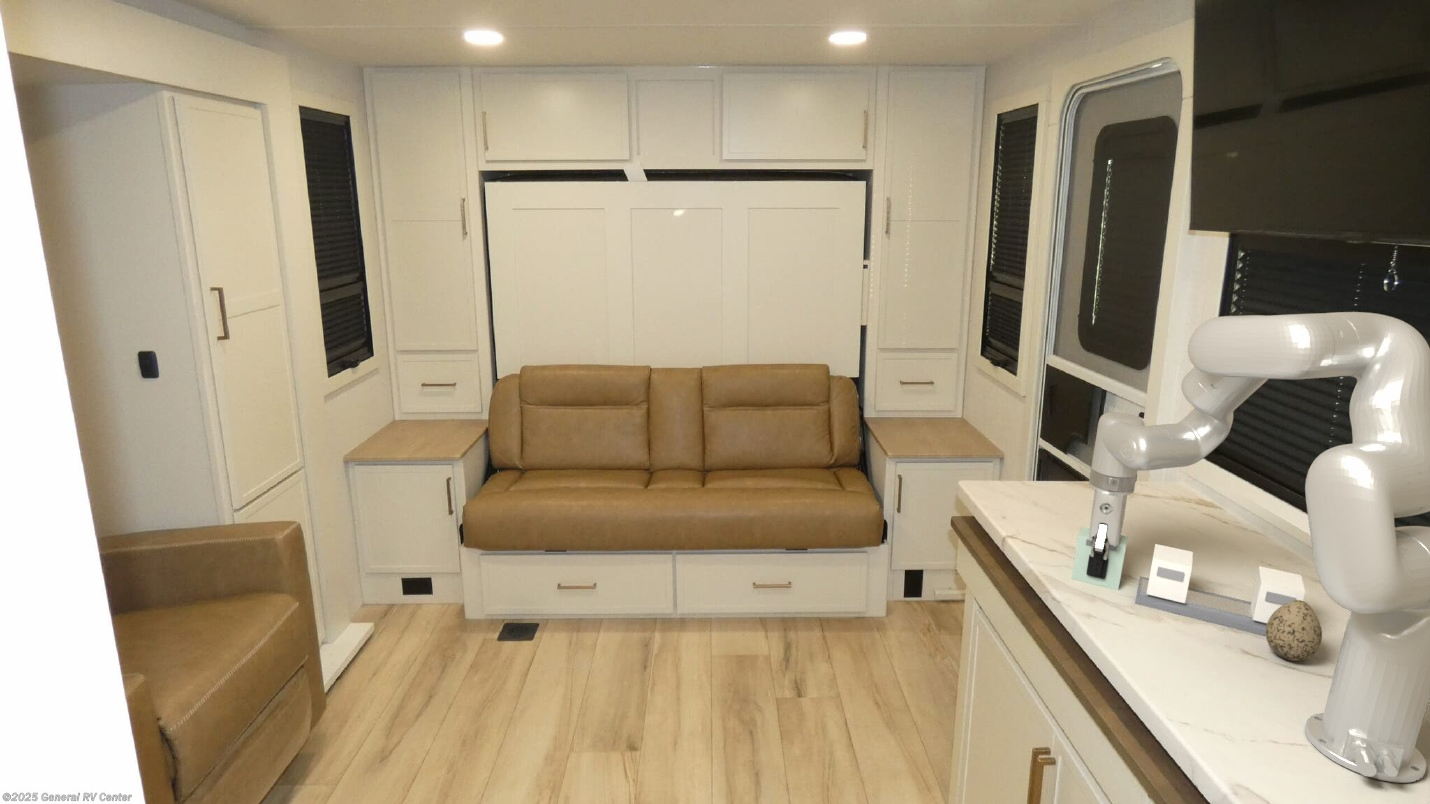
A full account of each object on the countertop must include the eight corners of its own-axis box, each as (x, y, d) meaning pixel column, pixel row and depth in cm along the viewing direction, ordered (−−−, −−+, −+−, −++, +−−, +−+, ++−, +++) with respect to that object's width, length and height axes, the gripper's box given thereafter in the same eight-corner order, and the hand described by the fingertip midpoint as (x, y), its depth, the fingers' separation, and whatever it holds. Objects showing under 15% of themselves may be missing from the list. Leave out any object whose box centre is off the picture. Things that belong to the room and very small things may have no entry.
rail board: (1305, 646, 131) (1317, 598, 128) (1134, 603, 143) (1142, 559, 141) (1300, 619, 139) (1311, 574, 137) (1139, 580, 151) (1146, 539, 149)
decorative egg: (1279, 641, 132) (1292, 586, 129) (1325, 665, 126) (1340, 607, 123) (1250, 650, 129) (1263, 594, 126) (1296, 675, 123) (1310, 616, 120)
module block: (1118, 590, 147) (1125, 545, 145) (1071, 579, 151) (1078, 535, 149) (1120, 580, 151) (1128, 536, 149) (1074, 569, 155) (1081, 526, 153)
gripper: (1131, 499, 137) (1114, 595, 142) (1138, 471, 151) (1123, 559, 156) (1083, 490, 141) (1069, 584, 146) (1095, 463, 155) (1081, 549, 160)
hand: (1097, 570), depth 151 cm, fingers closed on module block, 4 cm apart
